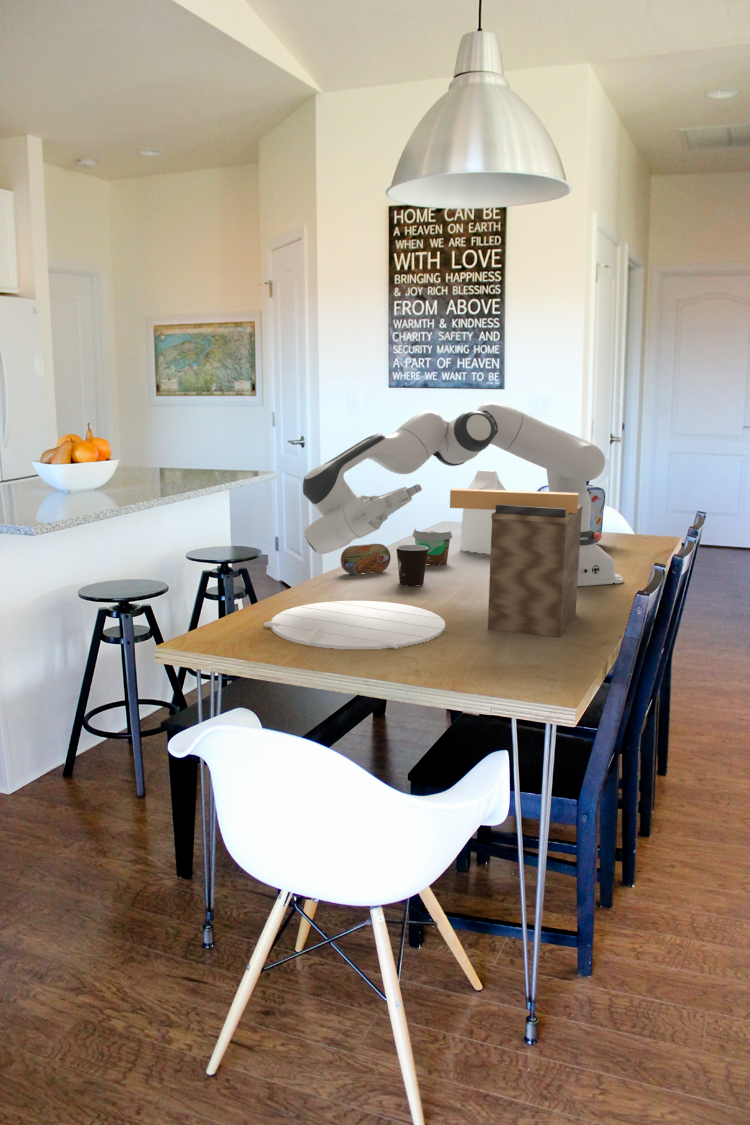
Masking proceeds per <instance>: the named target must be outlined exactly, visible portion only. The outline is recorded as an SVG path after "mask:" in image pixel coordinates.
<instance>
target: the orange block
mask: <svg viewBox="0 0 750 1125" xmlns="http://www.w3.org/2000/svg"><path fill="white" fill-rule="evenodd" d="M449 492H450V495H449V508H450V509H463V508H464V509H488V510H496V505H497V504H498V505H514V506H530V507H546V508H563V509H566V513H577V509H578V493H567V492H540V491H537V490H536V491H535V490H510V489H508V490H507V489H505V490H487V489H468V488H460V487H459V488H456V487H452V488H451V489H450V491H449Z"/></svg>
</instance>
